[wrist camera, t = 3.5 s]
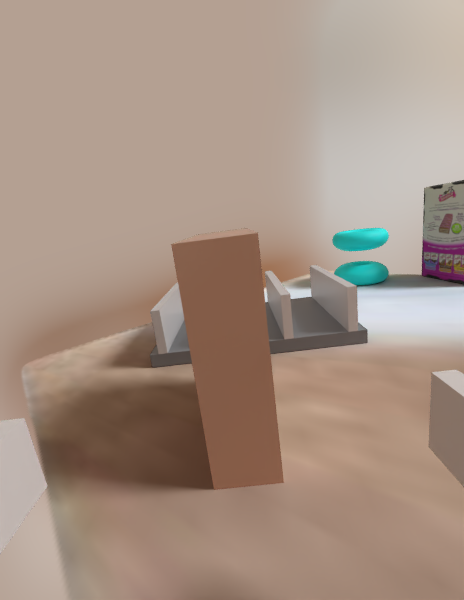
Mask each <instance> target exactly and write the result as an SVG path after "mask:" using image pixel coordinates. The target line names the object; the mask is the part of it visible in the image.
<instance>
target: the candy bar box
mask: <svg viewBox="0 0 464 600" xmlns="http://www.w3.org/2000/svg"><path fill="white" fill-rule="evenodd" d="M423 219H424V221H423V251H422V276H426V277H431V278H436V279H442V280H447V281H452V282H457V283H463V284H464V180H462V181H457V182H451V183H446V184H441V185H436V186H430V187H426V188H424V217H423Z"/></svg>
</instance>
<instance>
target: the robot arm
mask: <svg viewBox="0 0 464 600" xmlns="http://www.w3.org/2000/svg"><path fill="white" fill-rule="evenodd" d="M429 448H430V449H431V450H432V451H433V452H434V453H435V455H436V456H437V457H438V458H439V459H440V460H441V461H442V463H443V464H444V465H445V466H446V467H447V468H448V469H449V471H450V472H451V473H452V474H453V475H454V476H455V477H456V479H457V480H458V481H459V482H460V483H461V484H462V485H463V487H464V374H462V373H461V372H459V371H458V370H449V371H440V372H432V375H431V400H430V425H429ZM46 488H47V483H46V481H45V478H44V475H43V472H42V469H41V466H40V463H39V460H38V457H37V454H36V451H35V448H34V445H33V442H32V439H31V437H30V433H29V430H28V427H27V425H26V422H25V419H24V418H21V419H12V420H3V421H1V422H0V554H1V552H2V551H3V549H4V548H5V546H6V545H7V544H8V542H9V541H10V539H11V538H12V536H13V535H14V533H15V532H16V531H17V529H18V528H19V526H20V525H21V524H22V522H23V521H24V519H25V518H26V516H27V515H28V513H29V512H30V511H31V509H32V508H33V506H34V505H35V504H36V502H37V501H38V499H39V498H40V496H41V495H42V494H43V492H44V491H45V489H46Z"/></svg>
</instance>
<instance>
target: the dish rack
mask: <svg viewBox="0 0 464 600" xmlns="http://www.w3.org/2000/svg"><path fill="white" fill-rule="evenodd" d="M265 277H266V287H267V297H268V302H265V307H266V317H267V327H268V336H269V346H270V354H273V353H281V352H290V351H299V350H307V349H316V348H324V347H333V346H342V345H350V344H359V343H367V329H366V328H365V327H363V326H362V325H361V324H360V323H358V311H357V286H356V285H354V284H352V283H350V282H348V281H346V280H344V279H342V278H340V277H338V276H336V275H334V274H332V273H331V272H329V271H327V270H325V269H323V268H321V267H319V266H317V265H314V266H310V278H311V294H312V297H306V298H298V299H290V294H289V292H288V291H287V290H286V289H285V287H284V286H283V285H282V283H281V282H280V281H279V280H278V279H277V277H276V276H275V275H274V273H273V272H272V271H266V272H265ZM150 313H151V318H152V323H153V328H154V333H155V338H156V343H157V345H156V346H155V348H154V350H153V351H152V353H151V354H150V358H151V363H152V367H161V366H170V365H178V364H187V363H192V360H191V354H190V349H189V343H188V337H187V331H186V326H185V320H184V314H183V308H182V303H181V297H180V291H179V285H178V283H176V284H175V285H174V286H173V287H172V288H171V290H169V292H168V293H167V294H166V295H165V296H164V297H163V298H162V299H161V300H160V301H159V302H158V303H157V305H156V306H155V307H154V308H153V309H152V310H151V312H150Z"/></svg>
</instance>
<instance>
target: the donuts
mask: <svg viewBox="0 0 464 600" xmlns="http://www.w3.org/2000/svg"><path fill="white" fill-rule="evenodd" d="M388 236H389V235H388V232H387V231H386V230H385V229H382V228H367V229H357V230H349V231H343V232H339V233H337V234H335V235H334V237H333V244H334V246H335V247H336V248H338V249H340V250H344V251H362V250H370V249H374V248H377V247H380V246H382V245H383V244H384V243H386V241H387V239H388ZM334 275H336V276H338V277H340V278H342V279H344V280H346V281H348V282H350V283H352V284H354V285H370V284H376V283H379V282H382V281H384V280H385V279H386V278H387V277H388V269H387V268H386V266H384V265H383V264H381V263H378V262H373V261H358V262H351V263H346V264H344V265H341V266H340V267H338V268H337V269H336V271H335V273H334Z"/></svg>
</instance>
